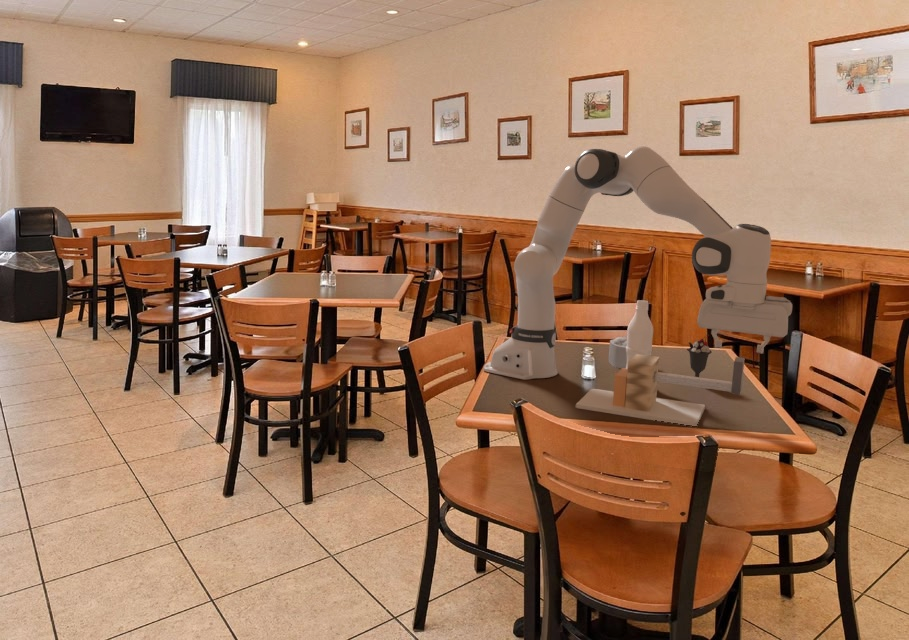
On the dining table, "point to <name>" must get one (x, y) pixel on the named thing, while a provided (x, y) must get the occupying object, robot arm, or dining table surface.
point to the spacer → (620, 388)
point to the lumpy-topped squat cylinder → (618, 352)
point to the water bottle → (639, 332)
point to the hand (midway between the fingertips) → (738, 350)
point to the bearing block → (641, 382)
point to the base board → (659, 411)
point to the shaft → (705, 382)
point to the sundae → (699, 355)
